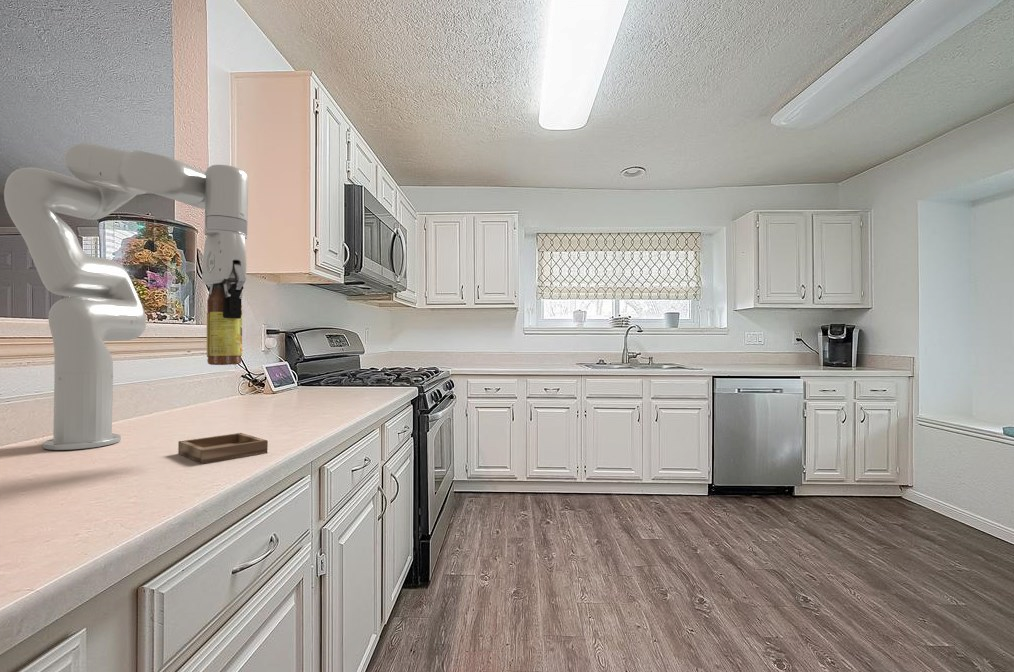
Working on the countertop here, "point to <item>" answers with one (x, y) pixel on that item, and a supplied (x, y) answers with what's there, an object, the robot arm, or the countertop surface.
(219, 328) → the sauce bottle
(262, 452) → the tray
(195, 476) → the countertop surface
